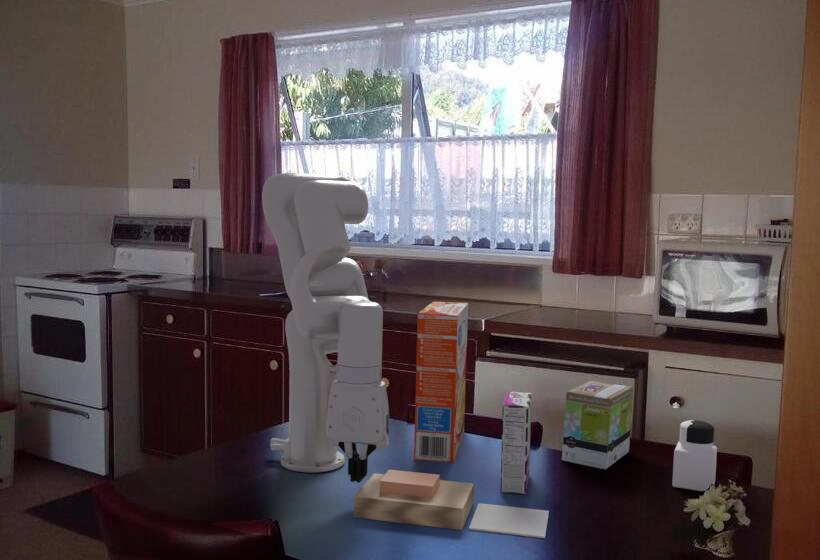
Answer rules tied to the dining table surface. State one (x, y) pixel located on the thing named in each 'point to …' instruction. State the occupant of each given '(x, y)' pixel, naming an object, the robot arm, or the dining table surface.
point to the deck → (416, 505)
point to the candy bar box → (515, 442)
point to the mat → (510, 520)
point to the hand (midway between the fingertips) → (357, 479)
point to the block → (410, 483)
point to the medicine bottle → (695, 456)
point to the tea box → (597, 424)
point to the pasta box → (440, 381)
